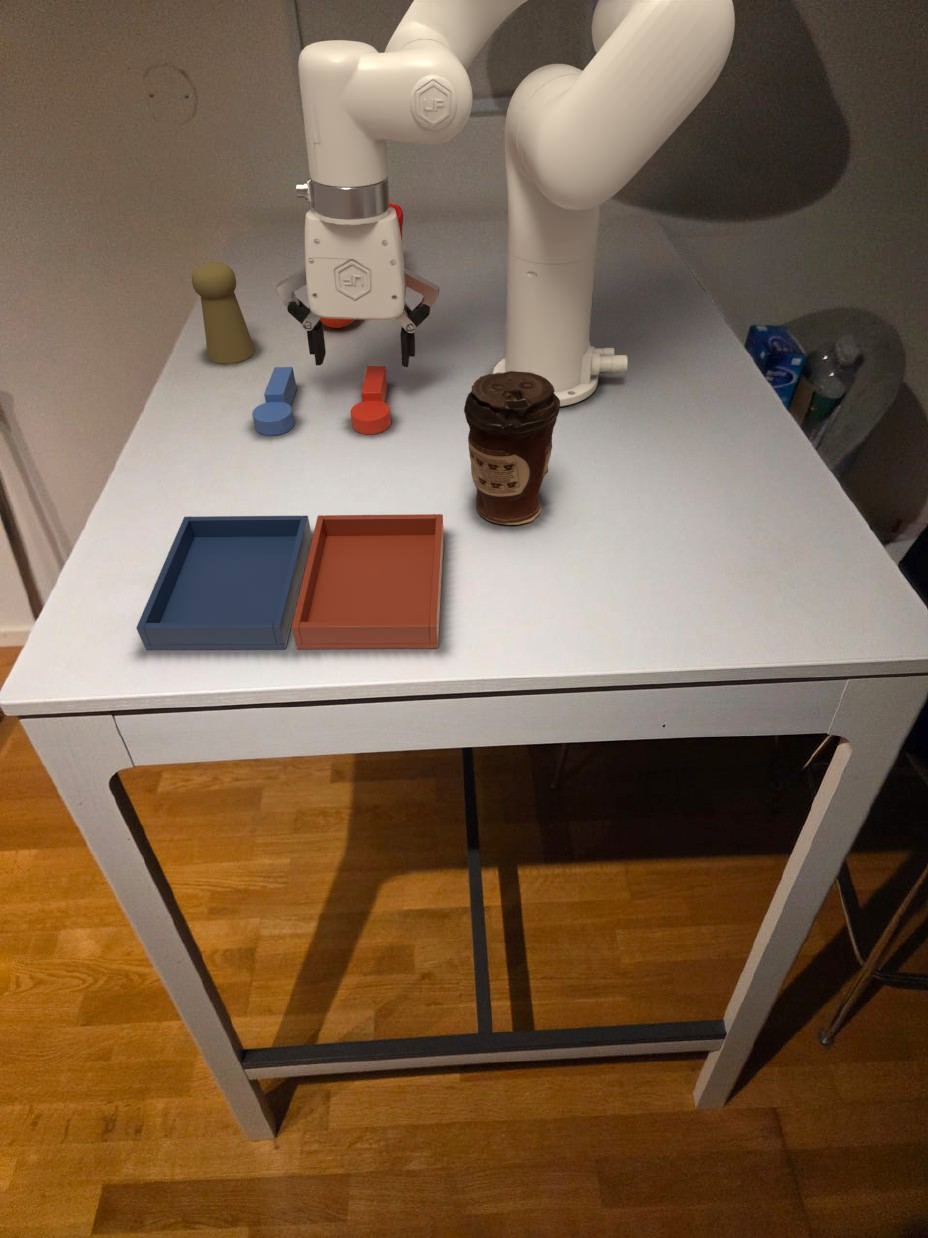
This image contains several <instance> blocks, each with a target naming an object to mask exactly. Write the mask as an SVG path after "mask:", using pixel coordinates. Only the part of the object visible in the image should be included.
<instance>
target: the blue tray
mask: <svg viewBox="0 0 928 1238" xmlns="http://www.w3.org/2000/svg"><path fill="white" fill-rule="evenodd" d="M312 538H313V534H312V530H311V524H310V519H309V515H228V516H227V515H221V516H220V515H219V516H218V515H217V516H216V515H215V516H184V517H183V519H182V521H181V523H180V526H179V528H178V530H177V531H176V535H175V537H174V540H173V541H172V544H171V546H170V549H169V551H168V553H167V556H166V558H165V560H164V562H163V565H162V567H161V569H160V572H159V574H158V576H157V579H156V581H155V583H154V586H153V588H152V590H151V593H150V595H149V598H148V599H147V602H146V604H145V605H144V606H145V607H144V608H143V611H142V613H141V615H140V618H139V620H138V623H137V624H136V627H135V628H136V631H137V634H138V635H139V638H140V640H141V642H142V644H143V646H144V649H145V650H146V651H149V650H150V651H159V650H160V651H161V650H162V651H163V650H165V651H167V650H168V651H170V650H174V651H175V650H178V651H179V650H183V651H185V650H186V651H187V650H286V648H287V644H288V639H289V636H290V632H291V629H292V622H293V618H294V614H295V610H296V606H297V601H298V597H299V593H300V589H301V584H302V580H303V576H304V572H305V568H306V563H307V559H308V555H309V551H310V547H311V542H312Z"/></svg>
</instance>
